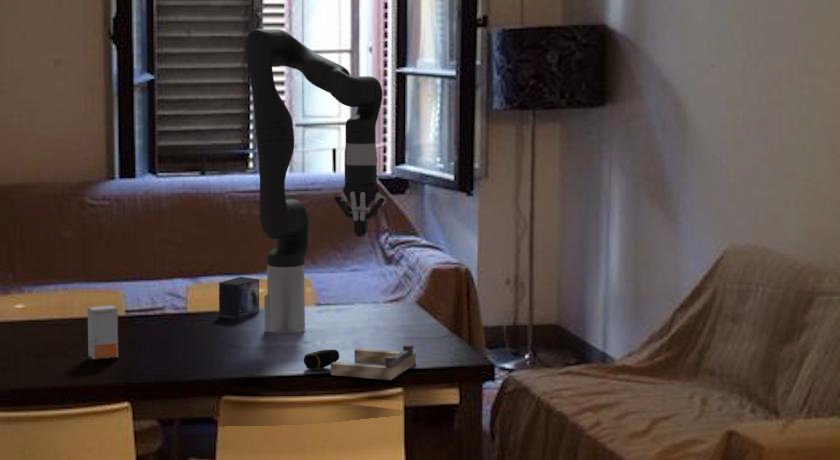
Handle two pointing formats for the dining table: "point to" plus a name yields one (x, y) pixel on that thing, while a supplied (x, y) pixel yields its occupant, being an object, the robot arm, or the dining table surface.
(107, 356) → the skincare box
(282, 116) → the robot arm
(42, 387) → the dining table surface
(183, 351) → the dining table surface
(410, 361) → the tan piece
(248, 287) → the small box
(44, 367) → the dining table surface
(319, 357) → the tape measure
